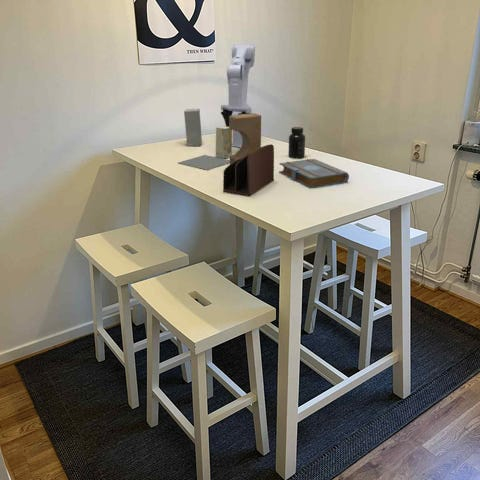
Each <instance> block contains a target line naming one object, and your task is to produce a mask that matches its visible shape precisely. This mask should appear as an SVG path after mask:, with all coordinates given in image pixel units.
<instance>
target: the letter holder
mask: <svg viewBox="0 0 480 480" xmlns="http://www.w3.org/2000/svg"><path fill="white" fill-rule="evenodd" d="M274 168H275V147H274V145H273V143H272V144H270V143H269V144H266V145H263V146H261V148H259V149H257V150H255V151H254V152H253V153H251V154H249V155H247V156H245V157H244V158H241V159H239V160H237V161H235V162H233V163H232V164H230V163H229V164H228V165H227V167H225V168H224V170H223V174H222V175H223V176H222V178H223V180H222V182H223V183H222V185H223V186H222V192H223V193H225V192H226V193H227V194H232V195H238V196H244V197H251V196H252V195H253V194H255V193H256V192H258V191H260V190H262V189H263V188H265V187H266V186H268V185H269V184H271V183H272V182H274V179H275V169H274ZM226 193H225V194H226Z"/></svg>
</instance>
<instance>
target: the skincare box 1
mask: <svg viewBox="0 0 480 480" xmlns="http://www.w3.org/2000/svg"><path fill="white" fill-rule="evenodd" d="M200 112H201V111H200V108H186V109H184V111H183V115H184V126H185V127H184V128H185V137H186V146H187V147H201V146H202V144H203V138H202V127H201V126H202V125H201V124H202V123H201V113H200Z"/></svg>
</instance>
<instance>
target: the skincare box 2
mask: <svg viewBox="0 0 480 480" xmlns="http://www.w3.org/2000/svg"><path fill="white" fill-rule="evenodd" d="M232 143H233V130H232V129H230V128H229V127H226V125H222V126H219V127H216V130H215V157H217V158H222V159H226V158H230V156H231V155H232V153H233V152H232V149H233V148H232V147H233V146H232Z"/></svg>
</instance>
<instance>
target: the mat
mask: <svg viewBox="0 0 480 480" xmlns="http://www.w3.org/2000/svg"><path fill="white" fill-rule="evenodd" d="M177 164H178V165H183V166H188V167H190V168H196V169H200V170H203V171H209V170H213V169H215V168H219V167H222V166H225V164H226V165H230V159H226V158H219V157H216V156H212V155H208V154H204V155H199V156H197V157H192V158H189V159H186V160H182V161H179V162H177Z"/></svg>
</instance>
